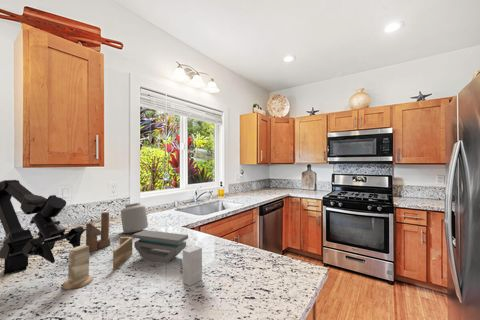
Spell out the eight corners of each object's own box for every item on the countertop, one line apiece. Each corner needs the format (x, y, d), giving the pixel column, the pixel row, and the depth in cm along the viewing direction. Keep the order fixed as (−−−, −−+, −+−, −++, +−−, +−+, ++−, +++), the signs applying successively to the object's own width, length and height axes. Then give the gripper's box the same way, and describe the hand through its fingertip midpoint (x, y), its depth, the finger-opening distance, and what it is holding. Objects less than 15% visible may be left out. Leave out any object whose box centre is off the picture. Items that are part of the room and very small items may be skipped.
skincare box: (195, 276, 85) (195, 245, 86) (202, 279, 83) (202, 247, 83) (181, 282, 81) (182, 249, 81) (189, 286, 78) (189, 252, 78)
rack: (100, 270, 90) (100, 250, 90) (120, 253, 107) (120, 237, 107) (115, 270, 90) (116, 250, 90) (133, 253, 107) (133, 236, 108)
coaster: (63, 292, 74) (63, 290, 74) (60, 282, 80) (60, 280, 80) (95, 282, 80) (95, 281, 80) (90, 274, 87) (90, 272, 87)
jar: (112, 233, 140) (113, 193, 141) (132, 227, 153) (133, 191, 154) (134, 237, 132) (134, 195, 133) (152, 230, 146) (153, 192, 146)
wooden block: (85, 251, 110) (86, 215, 110) (105, 244, 120) (106, 211, 120) (90, 252, 108) (91, 216, 109) (110, 245, 118) (110, 211, 119)
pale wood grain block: (68, 283, 79) (68, 249, 79) (81, 276, 84) (82, 245, 84) (75, 285, 78) (75, 250, 78) (88, 278, 82) (89, 246, 83)
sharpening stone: (187, 258, 102) (188, 235, 102) (178, 266, 94) (178, 240, 94) (144, 251, 110) (144, 229, 110) (132, 258, 102) (132, 234, 102)
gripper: (61, 231, 96) (79, 260, 93) (6, 246, 78) (25, 282, 75) (75, 214, 94) (94, 243, 91) (22, 226, 76) (43, 262, 73)
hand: (67, 257), depth 82 cm, fingers open, 9 cm apart
